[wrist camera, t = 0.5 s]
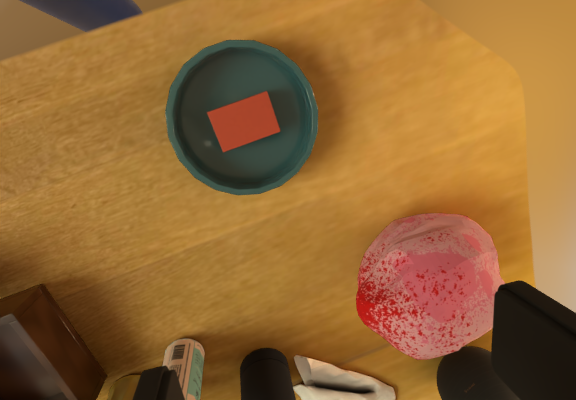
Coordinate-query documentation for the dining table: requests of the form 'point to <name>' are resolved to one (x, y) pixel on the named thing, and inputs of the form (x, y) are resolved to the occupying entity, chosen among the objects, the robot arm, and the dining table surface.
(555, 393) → the robot arm
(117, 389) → the vase
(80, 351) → the holder
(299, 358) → the cloth
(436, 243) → the decorative rock
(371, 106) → the dining table surface
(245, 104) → the red rectangular prism
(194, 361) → the beer can
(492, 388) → the speaker
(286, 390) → the black bottle
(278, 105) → the bowl
